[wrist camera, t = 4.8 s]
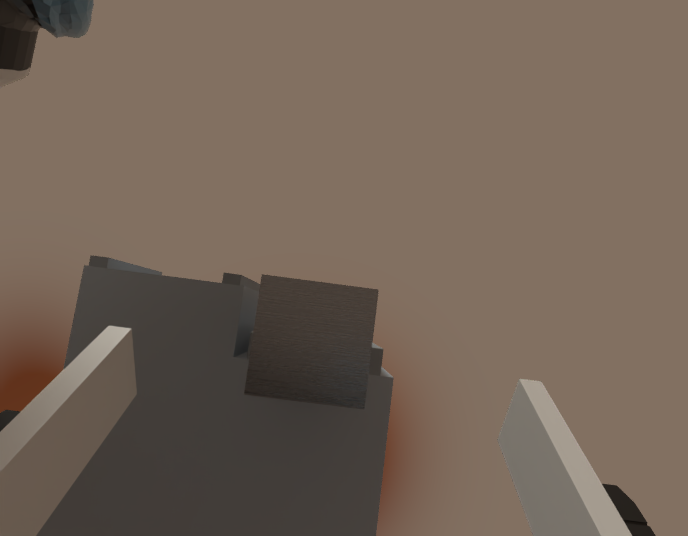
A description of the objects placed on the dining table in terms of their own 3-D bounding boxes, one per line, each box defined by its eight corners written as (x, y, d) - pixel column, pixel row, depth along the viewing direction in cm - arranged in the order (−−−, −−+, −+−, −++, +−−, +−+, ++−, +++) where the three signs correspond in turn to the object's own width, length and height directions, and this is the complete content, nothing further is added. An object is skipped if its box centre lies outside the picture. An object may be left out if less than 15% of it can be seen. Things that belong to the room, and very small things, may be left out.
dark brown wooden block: (367, 409, 14) (382, 284, 15) (240, 394, 14) (259, 268, 15) (342, 352, 38) (348, 304, 39) (294, 346, 38) (301, 298, 39)
